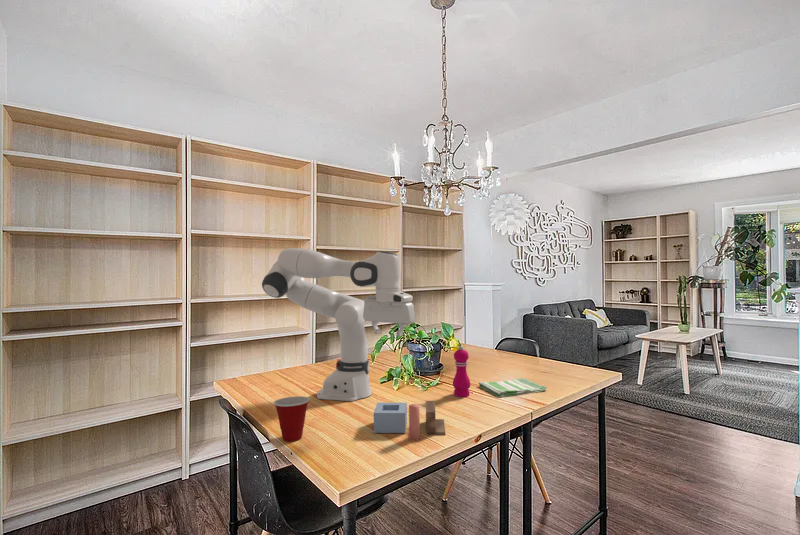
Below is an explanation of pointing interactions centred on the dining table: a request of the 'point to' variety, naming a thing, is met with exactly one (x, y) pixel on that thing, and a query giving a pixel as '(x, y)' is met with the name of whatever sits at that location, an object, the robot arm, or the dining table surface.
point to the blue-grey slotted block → (390, 418)
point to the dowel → (414, 422)
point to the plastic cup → (291, 416)
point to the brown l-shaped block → (433, 421)
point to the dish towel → (512, 387)
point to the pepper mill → (461, 373)
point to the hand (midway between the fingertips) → (388, 334)
